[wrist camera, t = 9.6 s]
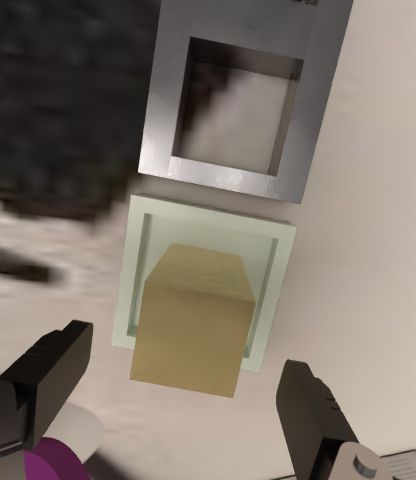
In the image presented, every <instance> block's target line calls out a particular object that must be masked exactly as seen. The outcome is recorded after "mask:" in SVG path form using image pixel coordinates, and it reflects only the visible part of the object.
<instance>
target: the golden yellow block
mask: <svg viewBox="0 0 416 480" xmlns="http://www.w3.org/2000/svg"><path fill="white" fill-rule="evenodd" d="M255 305H256V300H255V297H254V295H253V292H252V289H251V286H250V283H249V280H248V277H247V275H246V272H245V269H244V266H243V263H242V260H241V257H240V256H239V255H234V254H229V253H223V252H218V251H213V250H208V249H202V248H197V247H192V246H187V245H181V244H176V243H171V244H170V246H169V247H168V249H167V250H166V251H165V253H164V254H163V256H162V257H161V259H160V260H159V261H158V263H157V264H156V266H155V267H154V269H153V270H152V271H151V273H150V274H149V276H148V277H147V279H146V280H145V282H144V288H143V295H142V302H141V308H140V315H139V321H138V328H137V335H136V341H135V348H134V354H133V361H132V367H131V374H130V379H131V380H136V381H142V382H147V383H153V384H158V385H164V386H169V387H175V388H181V389H186V390H192V391H197V392H203V393H208V394H214V395H219V396H225V397H230V398H233V396H234V391H235V387H236V383H237V379H238V375H239V371H240V367H241V363H242V358H243V354H244V350H245V346H246V342H247V338H248V334H249V330H250V326H251V321H252V317H253V313H254V309H255Z"/></svg>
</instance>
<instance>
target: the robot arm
mask: <svg viewBox="0 0 416 480" xmlns="http://www.w3.org/2000/svg"><path fill="white" fill-rule="evenodd" d="M92 335H93V323H89V322H84V321H78V320H72V321H71V322H70V323H69V324H68V325H67V326H66V327H65V328H64V329H63V330H62V331H60V330H54V331H52V332H50V333H48V334H46V335H44V336H42V337H41V338H40V339H39V340H38V341H37V342H36V343H35V344H34V345H33V346H31V347H30V348H29V349H28V350H27V351H26V353H25V354H23V355H22V356H21V357H20V358H19V359H17V360H16V361H15V362H14V363H13V364H12V365H11V366H10V367H9V368H8V369H7V370H6V371H4V372H3V373H2V374H1V375H0V480H26V475H25V464H24V454H23V449H24V450H30V451H33V450H34V449H35V447H36V446H37V444H38V443H39V441H40V440H41V438H42V436H43V435H44V433H45V432H46V430H47V429H48V427H49V426H50V424H51V423H52V421H53V420H54V418H55V417H56V415H57V414H58V412H59V411H60V409H61V408H62V406H63V405H64V403H65V402H66V400H67V399H68V397H69V396H70V394H71V393H72V391H73V390H74V388H75V386H76V385H77V383H78V382H79V380H80V379H81V377H82V376H83V374H84V373H85V371H86V369H87V366H88V363H89V359H90V352H91V344H92ZM276 406H277V411H278V414H279V418H280V421H281V425H282V429H283V432H284V436H285V439H286V443H287V446H288V450H289V454H290V457H291V461H292V464H293V468H294V471H295V475H296V479H297V480H400V479H398V478H396V477H394V476H392V474H391V472H390V470H389V468H388V466H387V465H386V464H385V462H384V461H383V460H382V459H381V458H380V457H379V456H378V455H377V454H376V453H374V452H373V451H372V450H370V449H369V448H367V447H365V446H363V445H361V444H360V443H359V441H358V439H357V438H356V436H355V434H354V432H353V430H352V429H351V427H350V425H349V423H348V421H347V420H346V418H345V416H344V414H343V412H342V411H341V409H340V407H339V405H338V403H337V402H335V398H334V396H333V394H332V393H331V391H330V389H329V388H328V387H327V386H326V385H325V384H324V383H323V382H322V381H321V380H320V379H319V378H315V377H314V376H313V374H312V372H311V370H310V368H309V366H308V364H307V363H305V362H300V361H294V360H289V359H288V360H287V361H286V362H285V365H284V369H283V372H282V376H281V379H280V383H279V386H278V389H277V394H276Z"/></svg>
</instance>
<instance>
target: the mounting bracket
mask: <svg viewBox="0 0 416 480" xmlns="http://www.w3.org/2000/svg"><path fill="white" fill-rule="evenodd" d="M23 454H24V464H25V475H26V480H91V479H90V477H89V475H88V474H87V472H86V470H85V468H84V466H83V465H82V463H81V461H80V460H79V458H78V457H77V455H76V454H75V453H74V452H73V451H72V450H71V449H70V448H69V447H68V446H67V445H65V444H64V443H62V442H61V441H59V440H56V439H54V438H48V437H42V438H41V440H40V441H39V443H38V444H37V446H36V447H35V449H34V450H33V451H30V450H24V449H23Z"/></svg>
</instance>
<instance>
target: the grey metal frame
mask: <svg viewBox="0 0 416 480" xmlns="http://www.w3.org/2000/svg"><path fill="white" fill-rule="evenodd" d="M352 4H353V0H308V4H304V3H299V2H294V1H289V0H162V1H161V9H160V16H159V23H158V31H157V38H156V45H155V52H154V60H153V67H152V74H151V82H150V89H149V96H148V103H147V111H146V118H145V125H144V132H143V140H142V147H141V154H140V162H139V169H138V172H139V173H145V174H150V175H155V176H160V177H165V178H170V179H175V180H180V181H185V182H190V183H195V184H200V185H206V186H211V187H216V188H221V189H226V190H231V191H236V192H241V193H246V194H251V195H256V196H261V197H267V198H272V199H277V200H282V201H287V202H292V203H297V204H301V201H302V197H303V193H304V189H305V185H306V181H307V178H308V174H309V170H310V166H311V162H312V158H313V154H314V151H315V147H316V143H317V139H318V135H319V131H320V127H321V124H322V120H323V116H324V112H325V108H326V104H327V100H328V97H329V93H330V89H331V85H332V81H333V77H334V74H335V70H336V66H337V62H338V58H339V54H340V50H341V47H342V43H343V39H344V35H345V31H346V27H347V23H348V20H349V16H350V12H351V8H352ZM194 60H198V61H203V62H208V63H213V64H218V65H223V66H228V67H232V68H237V69H242V70H247V71H252V72H257V73H262V74H267V75H272V76H276V77H281V78H286V79H290V82H289V86H288V90H287V95H286V99H285V103H284V108H283V112H282V116H281V121H280V125H279V129H278V134H277V138H276V142H275V147H274V151H273V155H272V160H271V164H270V168H269V173H268V175H265V174H260V173H255V172H250V171H244V170H239V169H234V168H229V167H224V166H219V165H214V164H209V163H204V162H199V161H194V160H189V159H184V158H179V157H178V154H179V148H180V142H181V136H182V130H183V124H184V117H185V111H186V105H187V99H188V93H189V87H190V81H191V75H192V69H193V63H194Z"/></svg>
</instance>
